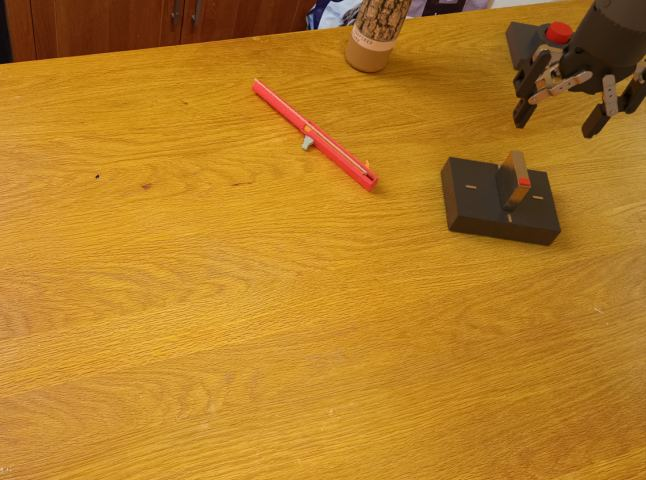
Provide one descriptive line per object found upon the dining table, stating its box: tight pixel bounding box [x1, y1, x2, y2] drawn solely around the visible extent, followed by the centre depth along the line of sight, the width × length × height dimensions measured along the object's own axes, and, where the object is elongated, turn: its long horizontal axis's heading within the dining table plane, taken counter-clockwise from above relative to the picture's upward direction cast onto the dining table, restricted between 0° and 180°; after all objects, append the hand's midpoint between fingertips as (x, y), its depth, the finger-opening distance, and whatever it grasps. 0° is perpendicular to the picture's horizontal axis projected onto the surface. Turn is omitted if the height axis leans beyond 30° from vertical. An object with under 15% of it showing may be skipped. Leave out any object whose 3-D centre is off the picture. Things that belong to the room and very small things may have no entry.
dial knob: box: [496, 149, 531, 211], centre depth 97 cm, size 6×2×5 cm, turn 175°
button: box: [546, 21, 574, 44], centre depth 119 cm, size 4×4×2 cm
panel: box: [440, 156, 562, 247], centre depth 100 cm, size 14×11×3 cm
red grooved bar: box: [251, 78, 379, 192], centre depth 104 cm, size 24×2×5 cm
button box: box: [505, 20, 575, 79], centre depth 121 cm, size 12×10×4 cm
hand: (551, 129), depth 90 cm, fingers open, 8 cm apart
